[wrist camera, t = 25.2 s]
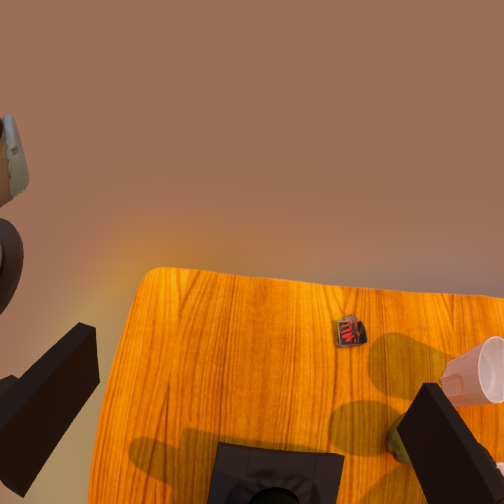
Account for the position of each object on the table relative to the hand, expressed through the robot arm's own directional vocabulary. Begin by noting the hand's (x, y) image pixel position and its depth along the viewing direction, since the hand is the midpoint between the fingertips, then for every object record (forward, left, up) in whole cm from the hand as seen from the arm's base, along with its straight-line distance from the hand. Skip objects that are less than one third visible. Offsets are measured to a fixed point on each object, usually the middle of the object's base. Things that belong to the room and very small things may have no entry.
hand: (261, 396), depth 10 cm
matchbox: (+15, +13, -28) cm, 34 cm away
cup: (+36, +6, -28) cm, 46 cm away
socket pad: (+7, -12, -28) cm, 31 cm away
